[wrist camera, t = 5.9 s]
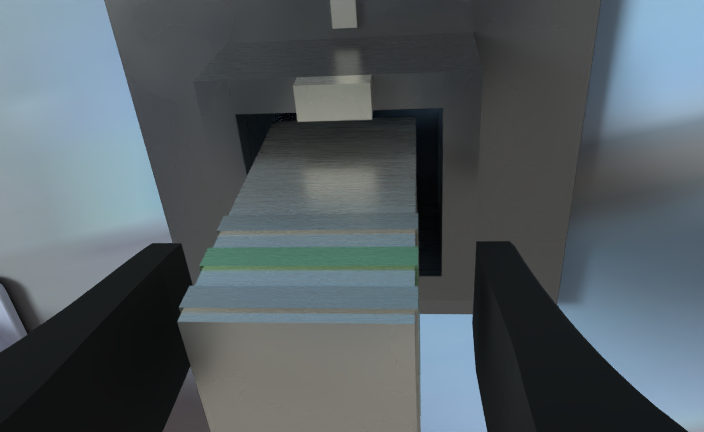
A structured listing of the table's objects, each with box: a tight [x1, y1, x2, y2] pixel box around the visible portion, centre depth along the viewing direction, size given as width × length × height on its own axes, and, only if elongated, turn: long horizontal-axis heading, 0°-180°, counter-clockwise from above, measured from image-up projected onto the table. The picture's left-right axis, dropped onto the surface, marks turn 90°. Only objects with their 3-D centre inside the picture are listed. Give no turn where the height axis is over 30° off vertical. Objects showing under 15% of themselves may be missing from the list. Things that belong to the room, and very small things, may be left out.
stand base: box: [104, 0, 601, 314], centre depth 16 cm, size 12×12×4 cm
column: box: [177, 117, 421, 432], centre depth 12 cm, size 4×4×7 cm
